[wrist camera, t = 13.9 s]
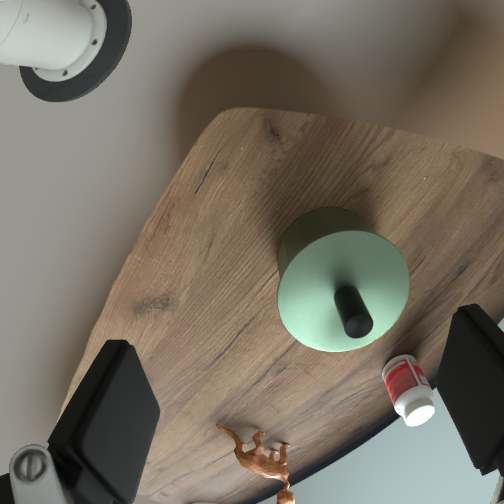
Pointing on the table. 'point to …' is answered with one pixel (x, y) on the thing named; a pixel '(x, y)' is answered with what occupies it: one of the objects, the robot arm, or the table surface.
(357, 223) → the tin
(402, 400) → the pill bottle
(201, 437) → the table surface
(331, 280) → the tin lid
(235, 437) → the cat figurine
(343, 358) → the table surface
